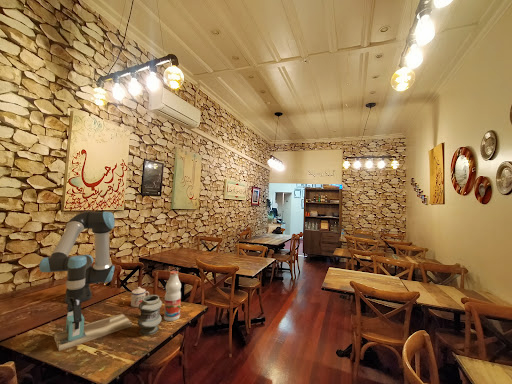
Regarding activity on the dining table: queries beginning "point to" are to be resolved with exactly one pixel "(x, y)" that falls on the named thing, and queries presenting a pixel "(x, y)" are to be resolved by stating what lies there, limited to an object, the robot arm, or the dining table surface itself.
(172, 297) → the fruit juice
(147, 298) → the apothecary jar
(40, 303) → the dining table surface
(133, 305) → the teacup with lid
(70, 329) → the bracket
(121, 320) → the board
